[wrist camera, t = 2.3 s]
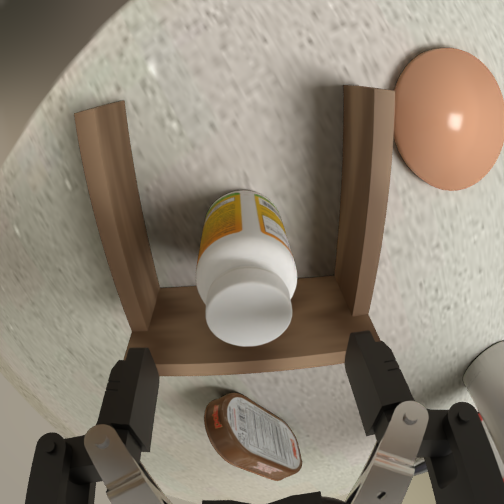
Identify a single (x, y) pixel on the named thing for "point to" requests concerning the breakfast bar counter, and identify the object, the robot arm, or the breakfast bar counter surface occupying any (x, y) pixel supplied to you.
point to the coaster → (448, 118)
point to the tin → (252, 437)
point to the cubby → (188, 298)
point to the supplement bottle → (245, 270)
